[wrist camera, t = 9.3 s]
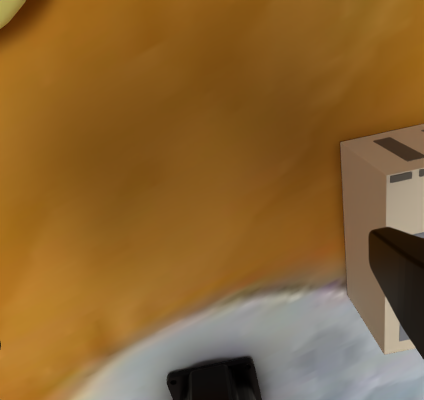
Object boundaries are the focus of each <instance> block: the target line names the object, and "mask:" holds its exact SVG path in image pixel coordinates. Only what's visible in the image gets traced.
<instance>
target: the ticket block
mask: <svg viewBox="0 0 424 400" xmlns="http://www.w3.org/2000/svg"><path fill="white" fill-rule="evenodd" d="M340 149H341V170H342V191H343V212H344V233H345V254H346V275H347V295H348V297H349V298H350V300H351V301H352V303H353V305H354V306H355V308H356V309H357V311H358V313H359V314H360V316H361V318H362V319H363V321H364V322H365V324H366V326H367V327H368V329H369V330H370V332H371V334H372V335H373V337H374V339H375V340H376V342H377V343H378V345H379V347H380V348H381V350H382V352H383V353H384V355H385V354H390V353H395V352H400V351H404V350H409V349H414V348H416V347H415V346H414V345H413V343H412V342H411V340H410V339H409V337H408V336H407V334H406V333H405V331H404V329H403V328H402V326H401V324H400V323H399V321H398V319H397V317H396V315H395V313H394V312H393V310H392V308H391V306H390V304H389V302H388V300H387V298H386V297H385V295H384V293H383V291H382V289H381V287H380V285H379V283H378V282H377V280H376V278H375V276H374V274H373V272H372V270H371V268H370V264H369V245H368V236H369V232H370V231H371V230H373V229H378V228H383V227H391V228H394V229H397V230H400V231H403V232H406V233H409V234H412V235H415V236H418V237H421V238H424V124H421V125H416V126H412V127H407V128H403V129H398V130H393V131H389V132H384V133H380V134H375V135H371V136H366V137H361V138H357V139H352V140H348V141H343V142H340Z"/></svg>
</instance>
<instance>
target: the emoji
mask: <svg viewBox="0 0 424 400" xmlns="http://www.w3.org/2000/svg"><path fill="white" fill-rule="evenodd" d="M25 1H26V0H0V29H1V28H2V27H4V26H5V25H6V24H7V23H9V22H10V20H11V19H12V18H13V17H14V15H15V14H16V13H17V12H18V11H19V9H20V8H21V7H22V6H23V4H24V3H25Z"/></svg>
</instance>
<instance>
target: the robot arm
mask: <svg viewBox="0 0 424 400" xmlns="http://www.w3.org/2000/svg"><path fill="white" fill-rule="evenodd" d="M368 245H369V264H370V268H371V270H372V272H373V274H374V276H375V278H376V280H377V282H378V283H379V285H380V287H381V289H382V291H383V293H384V295H385V297H386V298H387V300H388V302H389V304H390V306H391V308H392V310H393V312H394V313H395V315H396V317H397V319H398V321H399V323H400V324H401V326H402V328H403V329H404V331H405V333H406V334H407V336H408V337H409V339H410V340H411V342H412V343H413V345H414V346H415V347H416V349H417V350H418V352H419V353H420V355H421V356H422V358H423V359H424V238H421V237H418V236H415V235H412V234H409V233H406V232H403V231H400V230H397V229H394V228H391V227H383V228H378V229H373V230H371V231H370V232H369V236H368ZM0 348H1V343H0ZM167 385H168V388H169V391H170V393H171V396H172V398H173V400H262V398H261V394H260V389H259V384H258V380H257V375H256V371H255V366H254V362H253V360H252V359H251V358H243V359H238V360H233V361H228V362H223V363H218V364H214V365H209V366H204V367H199V368H194V369H189V370H185V371H180V372H175V373H171V374H169V375H168V376H167Z"/></svg>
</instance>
